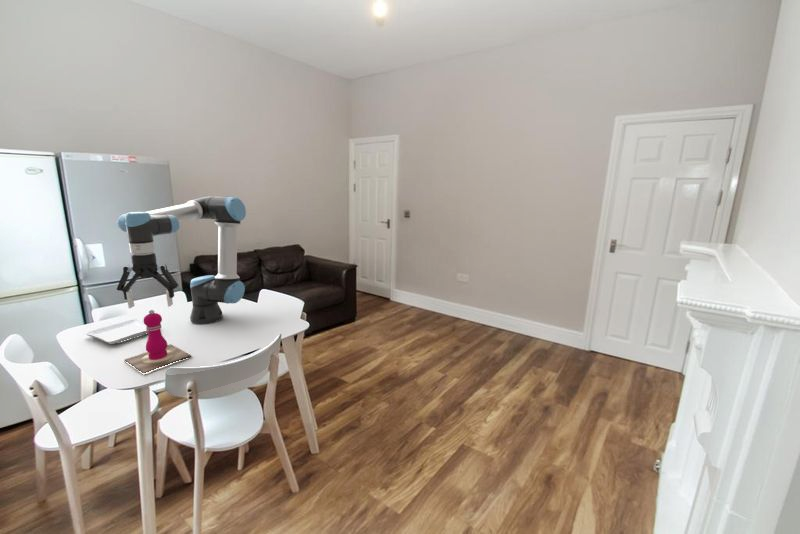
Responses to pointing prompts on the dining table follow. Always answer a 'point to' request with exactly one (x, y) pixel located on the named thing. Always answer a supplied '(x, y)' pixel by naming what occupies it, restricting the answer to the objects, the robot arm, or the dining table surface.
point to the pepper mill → (155, 336)
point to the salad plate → (118, 325)
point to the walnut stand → (147, 365)
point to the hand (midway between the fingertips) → (151, 306)
